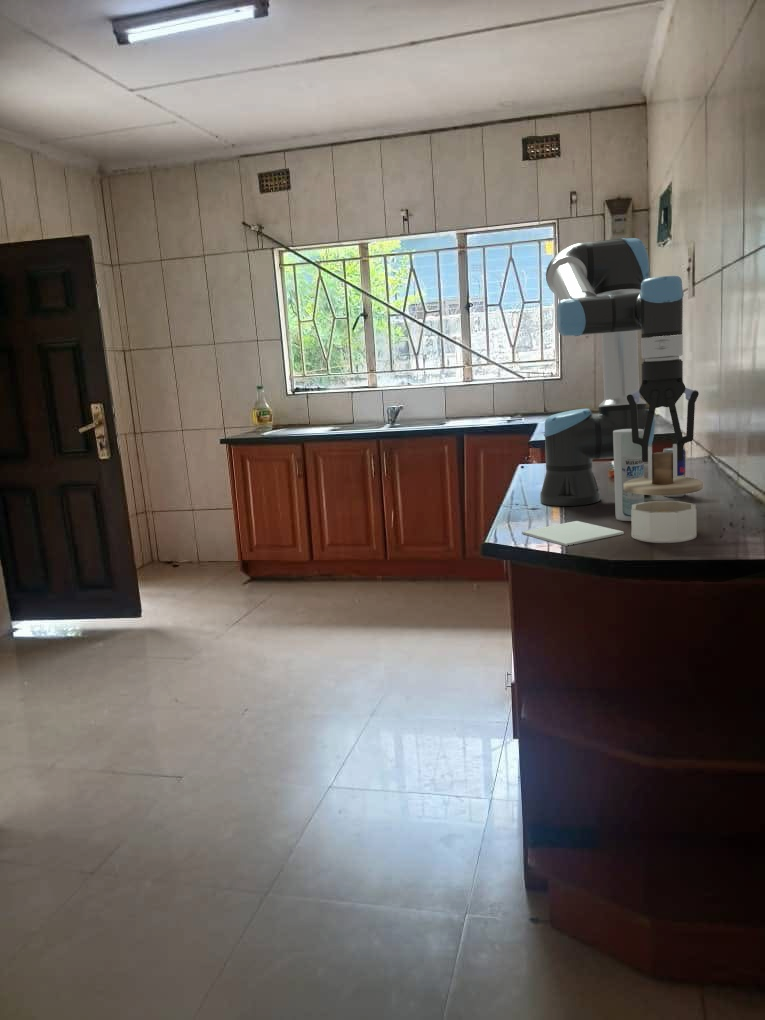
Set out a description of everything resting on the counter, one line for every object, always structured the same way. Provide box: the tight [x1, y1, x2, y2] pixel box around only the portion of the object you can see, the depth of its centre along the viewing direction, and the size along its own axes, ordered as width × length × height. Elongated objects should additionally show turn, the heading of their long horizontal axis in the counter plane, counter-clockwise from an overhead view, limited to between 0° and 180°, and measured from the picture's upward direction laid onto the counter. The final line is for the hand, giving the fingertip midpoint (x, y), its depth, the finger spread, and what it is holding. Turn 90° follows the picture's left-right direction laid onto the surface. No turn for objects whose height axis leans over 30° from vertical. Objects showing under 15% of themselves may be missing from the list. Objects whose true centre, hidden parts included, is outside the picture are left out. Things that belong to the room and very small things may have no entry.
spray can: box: [613, 429, 645, 522], centre depth 168 cm, size 6×6×20 cm
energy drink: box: [662, 447, 686, 498], centre depth 190 cm, size 5×5×12 cm
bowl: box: [630, 500, 698, 544], centre depth 152 cm, size 12×12×6 cm
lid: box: [624, 451, 704, 496], centre depth 150 cm, size 15×15×7 cm
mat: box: [521, 520, 625, 547], centre depth 160 cm, size 15×15×1 cm
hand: (662, 477), depth 150 cm, fingers closed on lid, 4 cm apart
